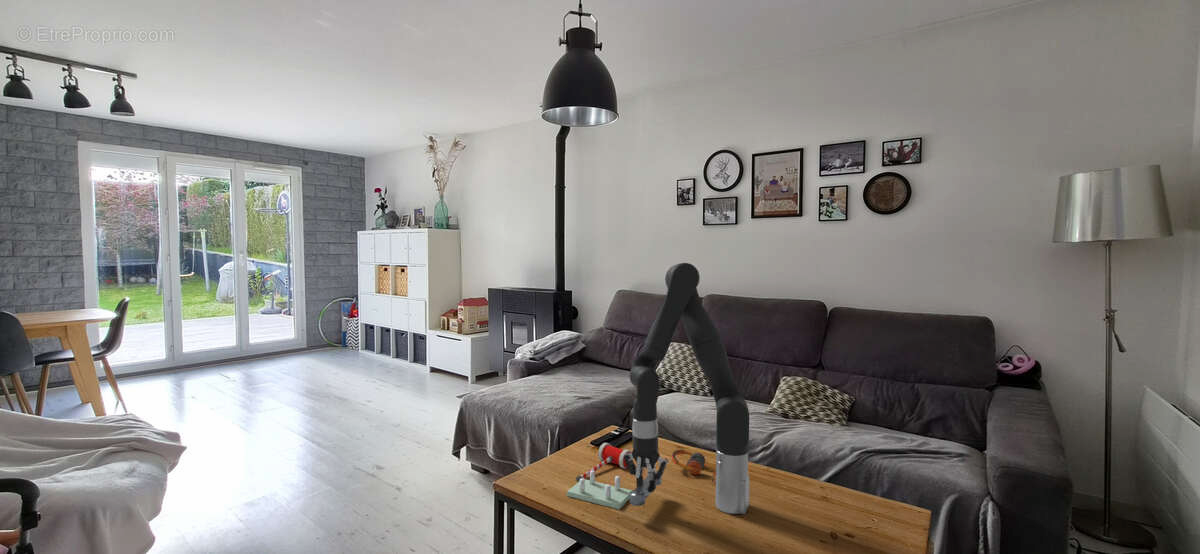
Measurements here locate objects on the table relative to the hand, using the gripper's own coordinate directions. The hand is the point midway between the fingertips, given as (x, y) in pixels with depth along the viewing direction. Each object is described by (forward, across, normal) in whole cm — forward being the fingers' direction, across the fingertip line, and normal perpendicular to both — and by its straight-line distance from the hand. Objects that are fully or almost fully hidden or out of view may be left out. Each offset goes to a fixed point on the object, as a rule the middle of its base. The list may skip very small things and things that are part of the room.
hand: (646, 489), depth 152 cm
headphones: (+6, -7, -32) cm, 34 cm away
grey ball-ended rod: (+1, 0, 0) cm, 1 cm away
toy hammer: (+6, +23, -19) cm, 30 cm away
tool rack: (+5, +16, -1) cm, 17 cm away
